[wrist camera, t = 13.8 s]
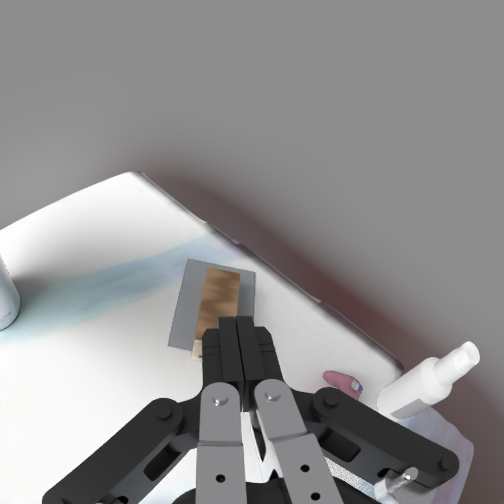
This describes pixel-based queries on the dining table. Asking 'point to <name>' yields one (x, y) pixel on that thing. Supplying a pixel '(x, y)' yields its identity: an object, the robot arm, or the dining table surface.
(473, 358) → the spray bottle
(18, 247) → the dining table surface
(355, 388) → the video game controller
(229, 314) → the walnut block
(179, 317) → the rubber mat
